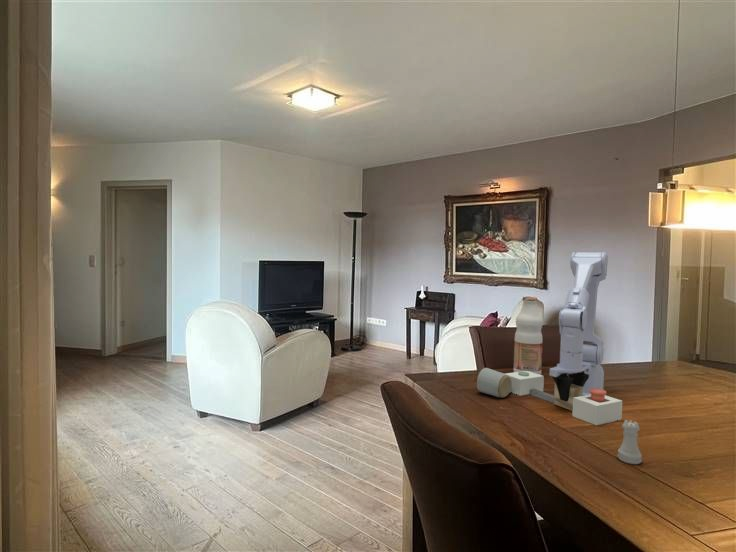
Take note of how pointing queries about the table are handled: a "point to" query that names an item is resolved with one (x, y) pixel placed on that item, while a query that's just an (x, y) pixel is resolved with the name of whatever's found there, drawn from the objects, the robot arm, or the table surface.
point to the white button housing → (597, 409)
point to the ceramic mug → (494, 383)
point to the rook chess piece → (630, 444)
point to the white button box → (525, 382)
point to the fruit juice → (528, 338)
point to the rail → (542, 395)
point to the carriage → (574, 392)
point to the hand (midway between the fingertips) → (569, 399)
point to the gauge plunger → (597, 394)
